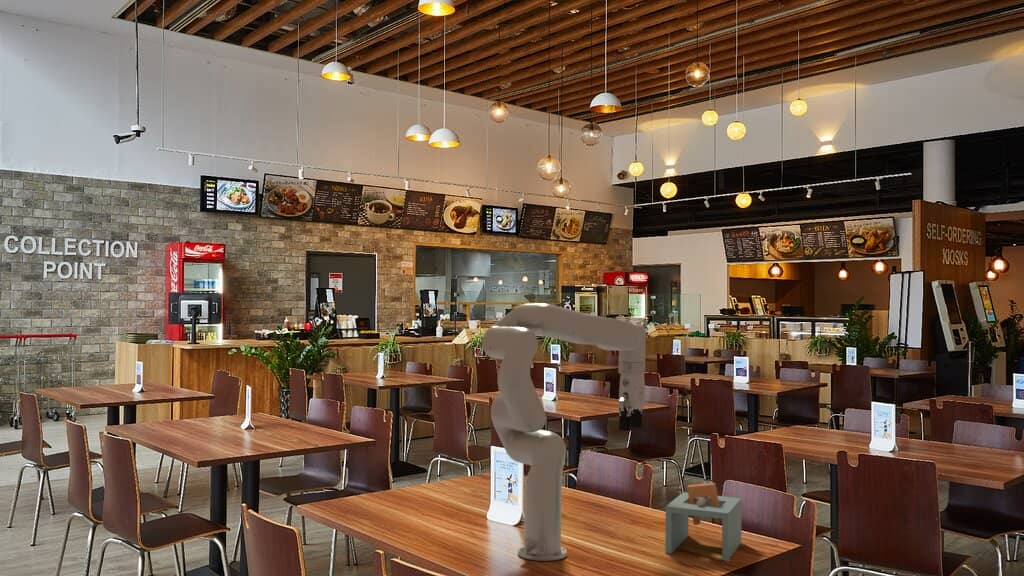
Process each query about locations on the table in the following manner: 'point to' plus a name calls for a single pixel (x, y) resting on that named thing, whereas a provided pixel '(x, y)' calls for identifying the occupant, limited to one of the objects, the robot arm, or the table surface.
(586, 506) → the table surface
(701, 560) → the table surface
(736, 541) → the shelf
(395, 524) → the table surface
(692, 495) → the wooden arch bridge
